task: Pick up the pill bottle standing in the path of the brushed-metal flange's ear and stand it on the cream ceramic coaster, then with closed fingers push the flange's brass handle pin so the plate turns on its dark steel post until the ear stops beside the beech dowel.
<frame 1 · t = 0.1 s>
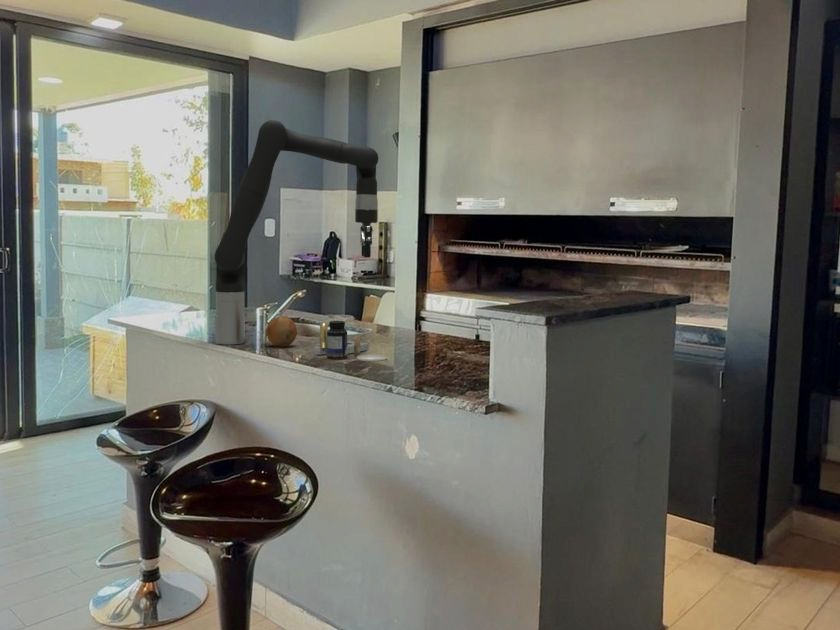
hand: (365, 256, 260), 29 cm above the counter, fingers open, 8 cm apart
pill bottle: (337, 358, 232), on the counter
dowel: (356, 355, 236), on the counter
coaster: (371, 358, 231), on the counter
post: (342, 350, 244), on the counter
onion: (281, 347, 251), on the counter
flange: (336, 336, 242), point 5 cm above the counter, hinge at 0.0°
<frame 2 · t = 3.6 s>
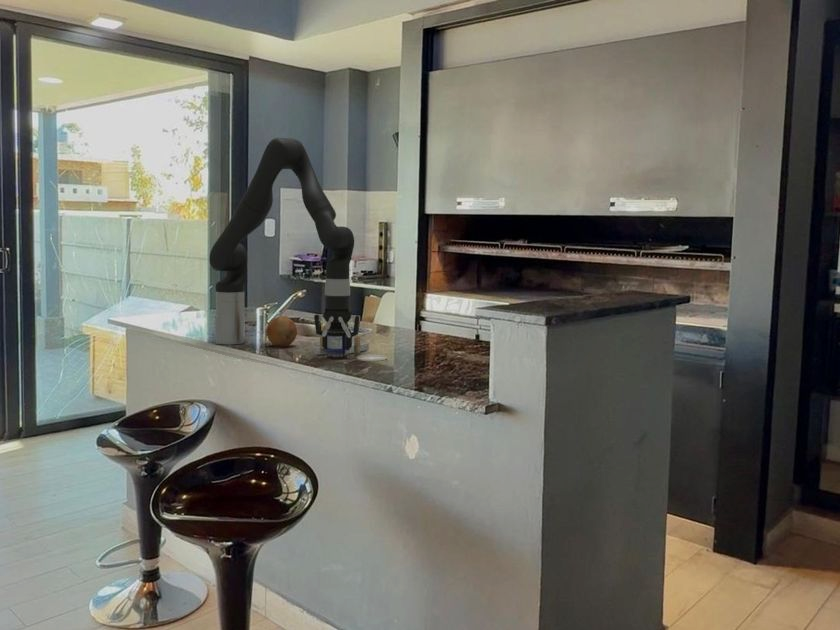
hand: (337, 349, 231), 3 cm above the counter, fingers closed on pill bottle, 6 cm apart
pill bottle: (337, 358, 232), on the counter, touching gripper
everything else where it was.
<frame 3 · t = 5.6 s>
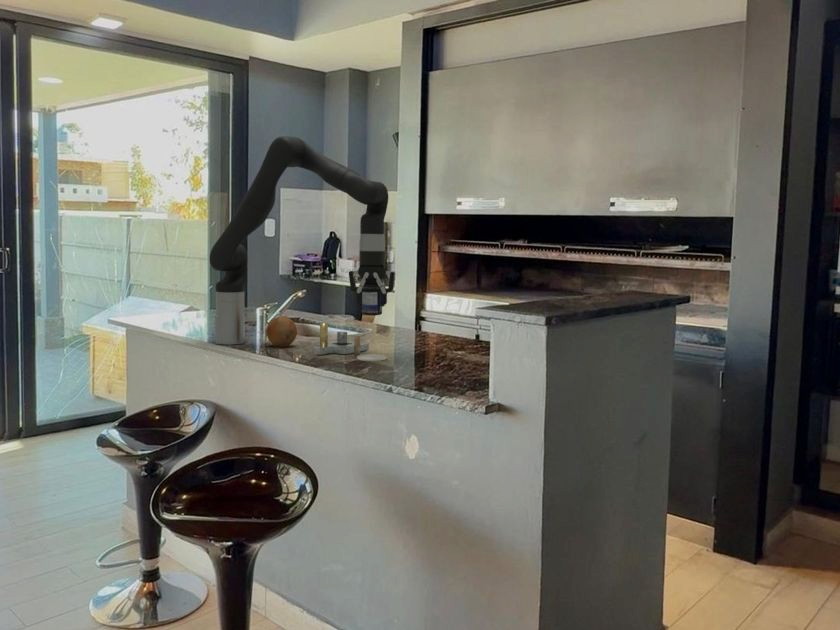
hand: (372, 305, 229), 16 cm above the counter, fingers closed on pill bottle, 6 cm apart
pill bottle: (371, 315, 229), point 13 cm above the counter, touching gripper
everything else where it was.
when the fingers open (5 cm above the counter, at t = 7.8 s): pill bottle drops 1 cm, resting on coaster.
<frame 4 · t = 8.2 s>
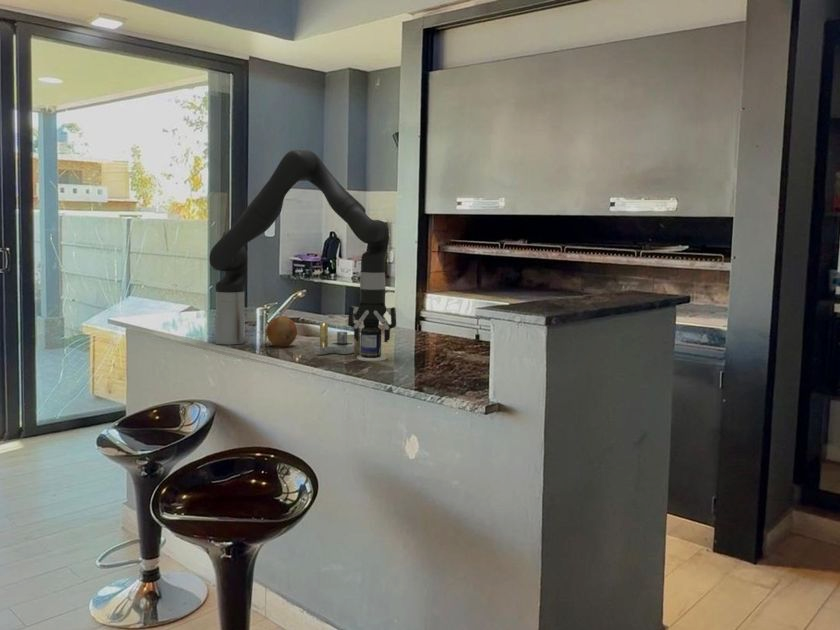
hand: (372, 341, 230), 5 cm above the counter, fingers open, 8 cm apart
pill bottle: (370, 357, 231), resting on coaster
everything else where it was.
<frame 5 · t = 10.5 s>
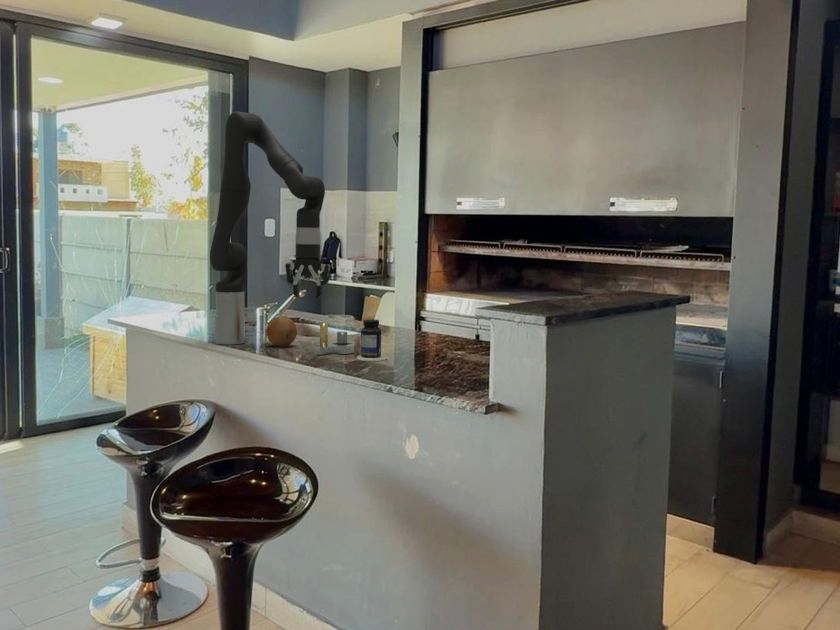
hand: (307, 297, 236), 17 cm above the counter, fingers open, 6 cm apart
nothing on the counter moved.
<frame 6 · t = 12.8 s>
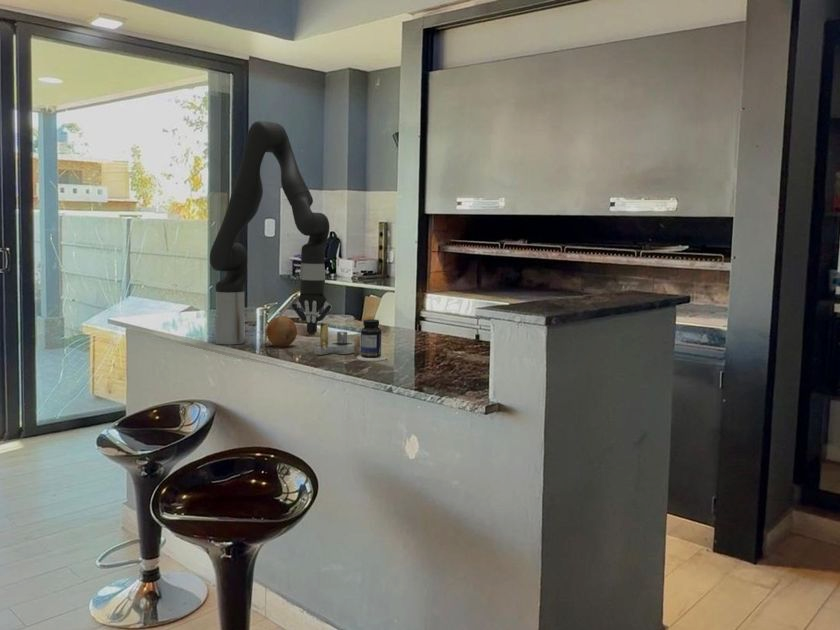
hand: (312, 334, 237), 6 cm above the counter, fingers closed
flange: (336, 336, 242), point 5 cm above the counter, hinge at 1.2°, touching gripper
everything else where it was.
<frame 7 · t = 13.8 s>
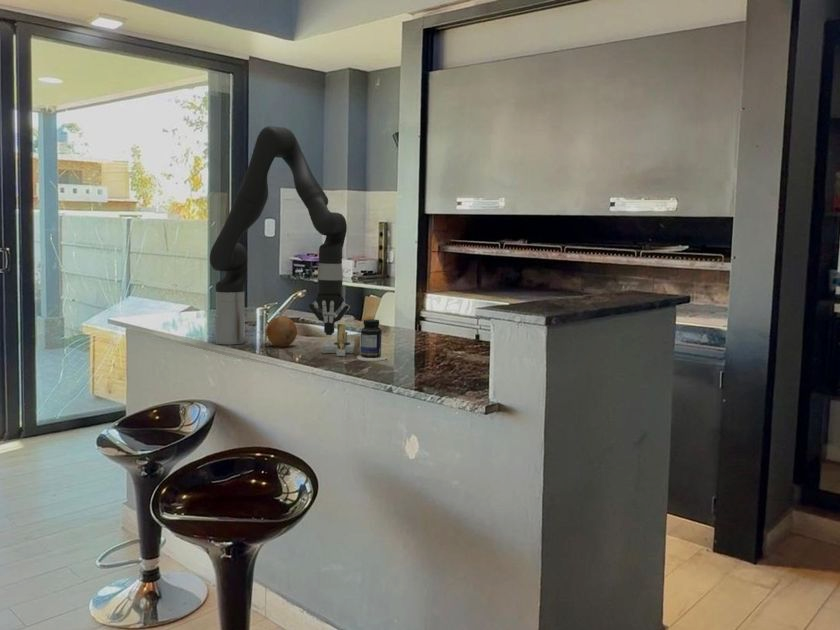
hand: (329, 334, 235), 6 cm above the counter, fingers closed
flange: (341, 336, 241), point 5 cm above the counter, hinge at 39.7°, touching gripper
everything else where it was.
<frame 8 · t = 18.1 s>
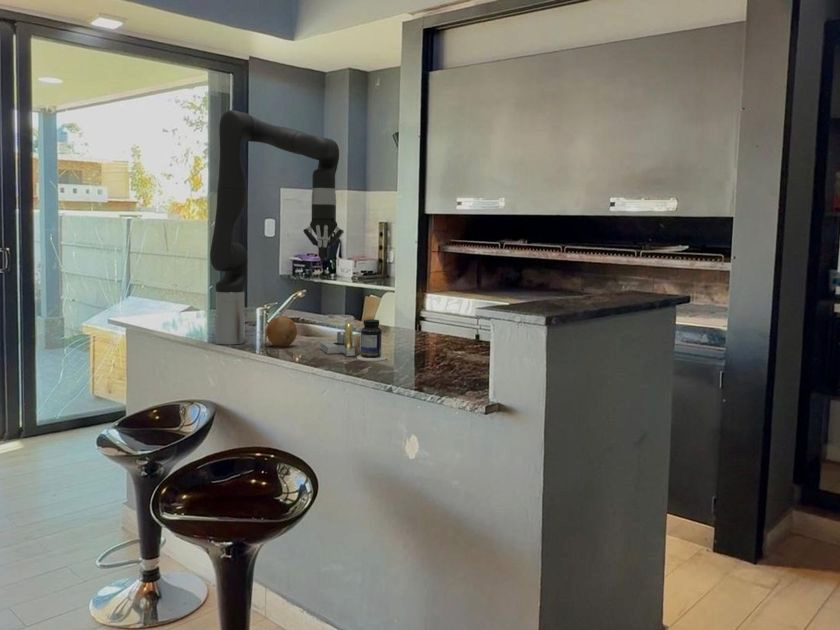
hand: (323, 259, 240), 29 cm above the counter, fingers closed
flange: (344, 336, 241), point 5 cm above the counter, hinge at 55.0°, touching dowel
everything else where it was.
at the end: flange at +55° (first picture: +0°); pill bottle 0.3 cm from the coaster (horizontally); pill bottle tilted 0° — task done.
